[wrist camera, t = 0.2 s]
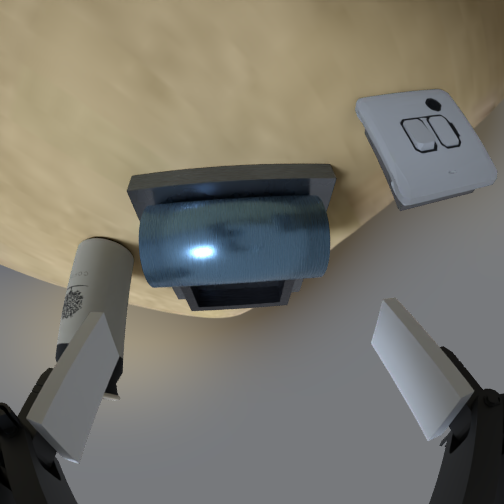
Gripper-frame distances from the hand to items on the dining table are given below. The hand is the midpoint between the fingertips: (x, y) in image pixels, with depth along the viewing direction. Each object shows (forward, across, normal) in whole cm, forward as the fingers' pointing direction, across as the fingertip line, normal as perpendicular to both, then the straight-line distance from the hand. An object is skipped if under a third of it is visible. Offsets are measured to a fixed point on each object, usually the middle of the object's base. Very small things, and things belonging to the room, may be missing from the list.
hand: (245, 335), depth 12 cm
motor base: (+21, 0, -3) cm, 21 cm away
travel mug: (+21, -17, -4) cm, 28 cm away
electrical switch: (+11, +14, +12) cm, 22 cm away
